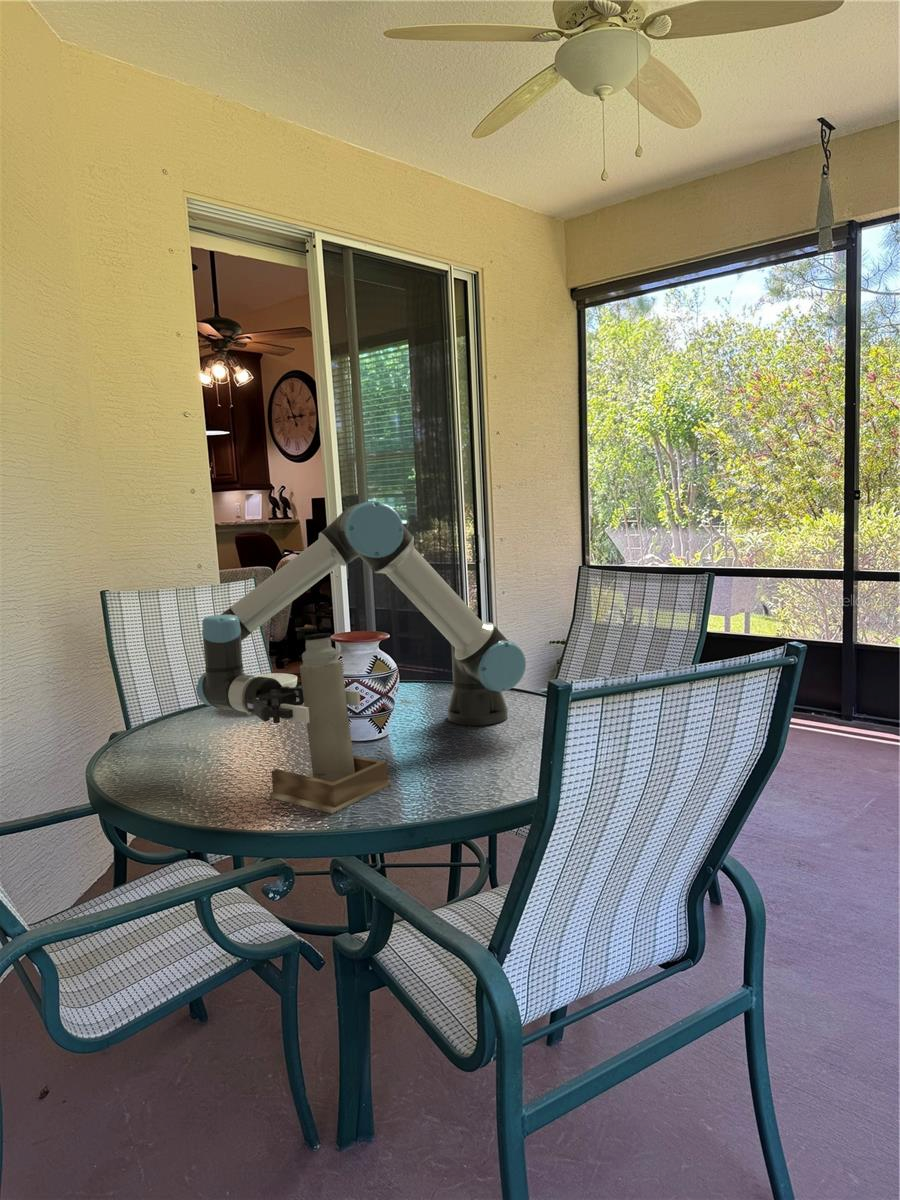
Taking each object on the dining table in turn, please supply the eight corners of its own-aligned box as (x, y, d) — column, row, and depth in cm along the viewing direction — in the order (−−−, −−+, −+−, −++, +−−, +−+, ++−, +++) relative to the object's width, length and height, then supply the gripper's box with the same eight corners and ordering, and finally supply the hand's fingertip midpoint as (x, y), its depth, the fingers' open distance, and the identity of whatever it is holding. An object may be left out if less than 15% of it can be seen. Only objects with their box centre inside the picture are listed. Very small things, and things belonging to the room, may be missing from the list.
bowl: (258, 695, 224) (256, 672, 223) (311, 698, 217) (309, 674, 217) (219, 711, 207) (217, 685, 206) (275, 715, 200) (273, 688, 200)
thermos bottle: (305, 781, 143) (287, 637, 143) (339, 771, 149) (322, 632, 149) (329, 786, 138) (311, 635, 137) (363, 775, 143) (346, 630, 143)
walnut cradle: (269, 797, 140) (268, 772, 139) (330, 771, 153) (328, 748, 152) (332, 813, 130) (330, 787, 130) (390, 784, 143) (389, 760, 143)
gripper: (303, 699, 161) (378, 710, 149) (206, 728, 141) (285, 744, 129) (301, 665, 160) (376, 673, 148) (203, 689, 140) (282, 701, 128)
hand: (334, 706), depth 138 cm, fingers open, 13 cm apart
